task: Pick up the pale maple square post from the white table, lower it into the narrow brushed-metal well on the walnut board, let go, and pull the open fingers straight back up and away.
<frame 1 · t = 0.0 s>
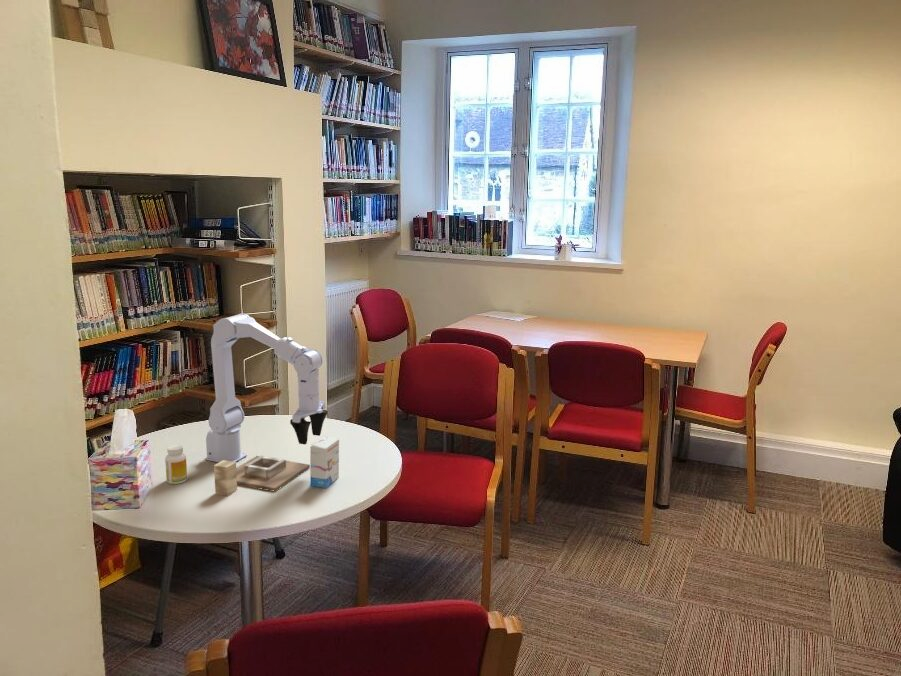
hand: (309, 439, 209), 10 cm above the table, tool pointing down, fingers open, 7 cm apart
supplement bottle: (177, 481, 204), on the table
maple post: (226, 491, 197), on the table
well stand: (265, 474, 209), on the table
ink box: (325, 482, 205), on the table
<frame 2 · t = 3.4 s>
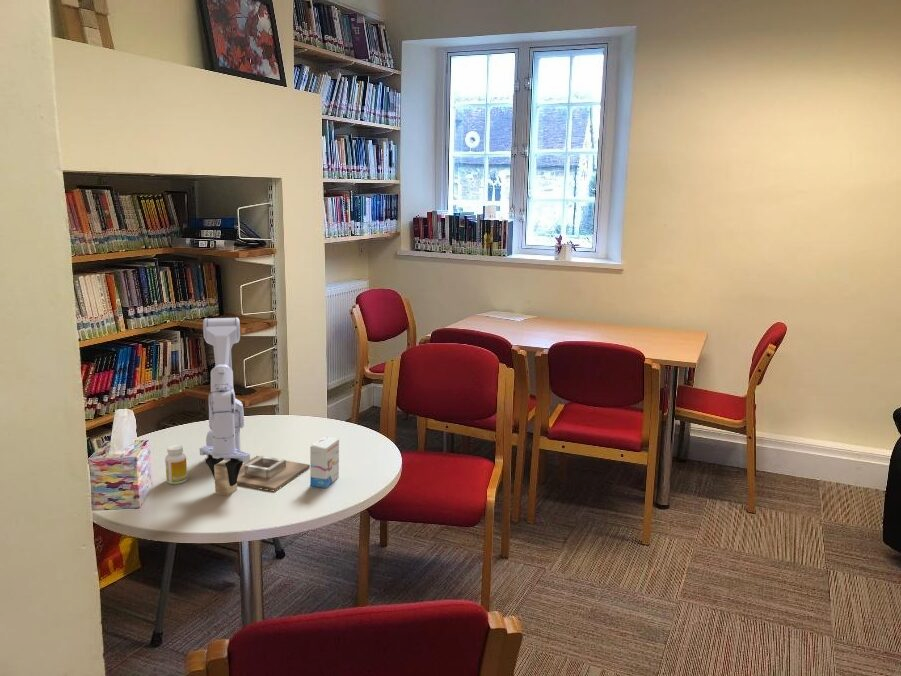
hand: (225, 483, 197), 2 cm above the table, tool pointing down, fingers closed on maple post, 4 cm apart
maple post: (226, 491, 197), on the table, touching gripper
everything else where it was.
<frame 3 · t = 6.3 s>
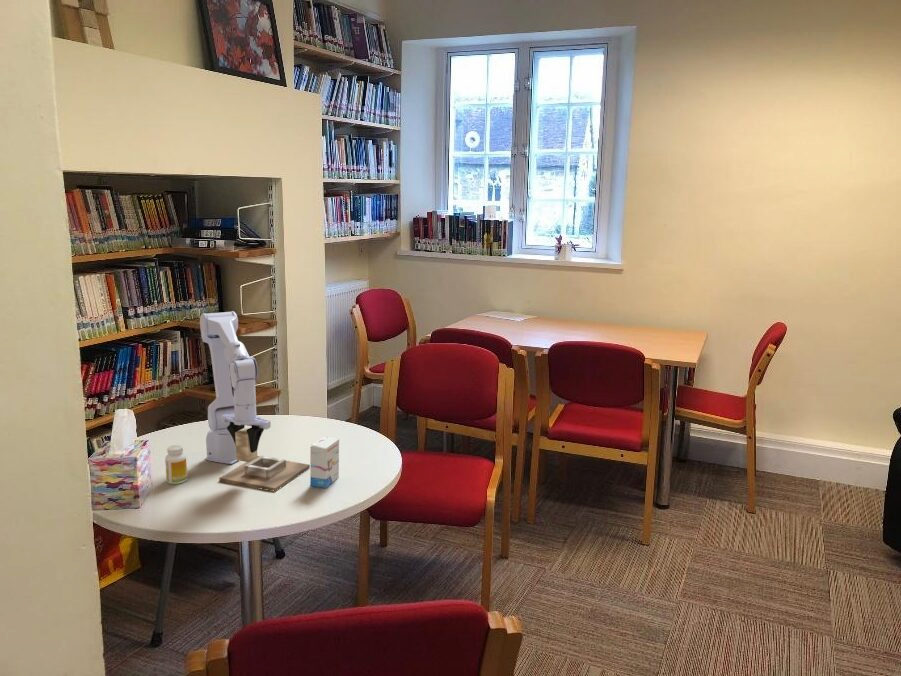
hand: (246, 450, 202), 9 cm above the table, tool pointing down, fingers closed on maple post, 4 cm apart
maple post: (247, 458, 202), point 7 cm above the table, touching gripper
everything else where it was.
when the fingers open (4 cm above the table, at t = 9.2 s): maple post stays where it is, resting on well stand.
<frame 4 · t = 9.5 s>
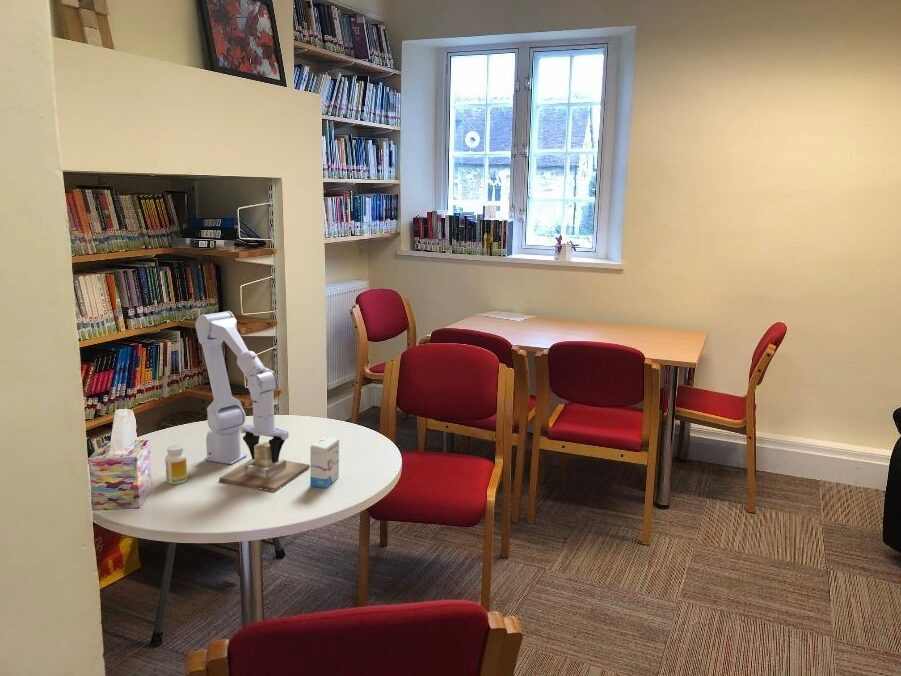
hand: (265, 459, 208), 4 cm above the table, tool pointing down, fingers open, 6 cm apart
maple post: (265, 471, 209), point 1 cm above the table, touching well stand
everything else where it was.
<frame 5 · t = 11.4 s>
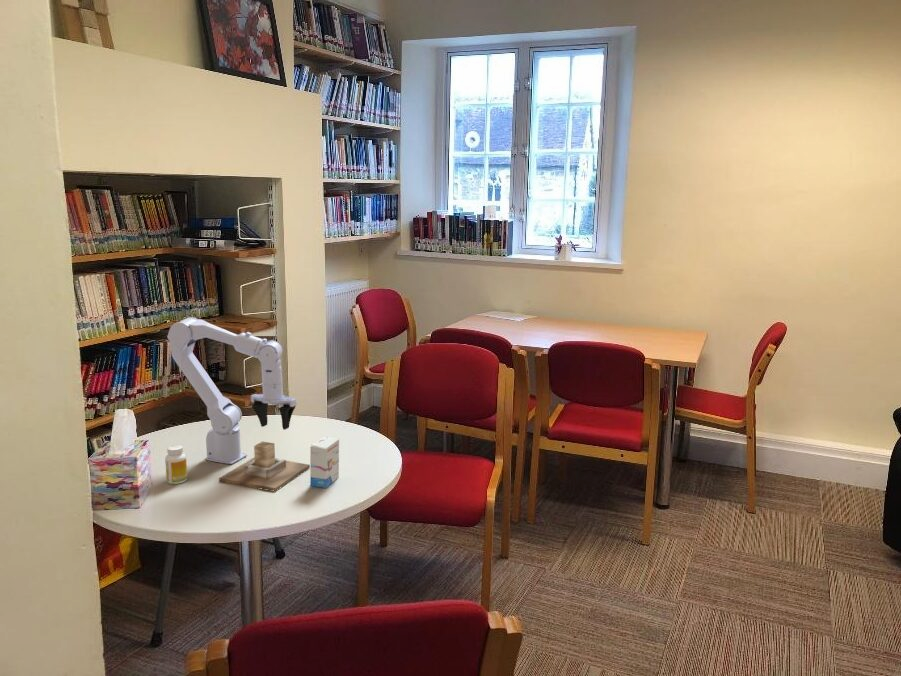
hand: (275, 427, 218), 10 cm above the table, tool pointing down, fingers open, 7 cm apart
nothing on the table moved.
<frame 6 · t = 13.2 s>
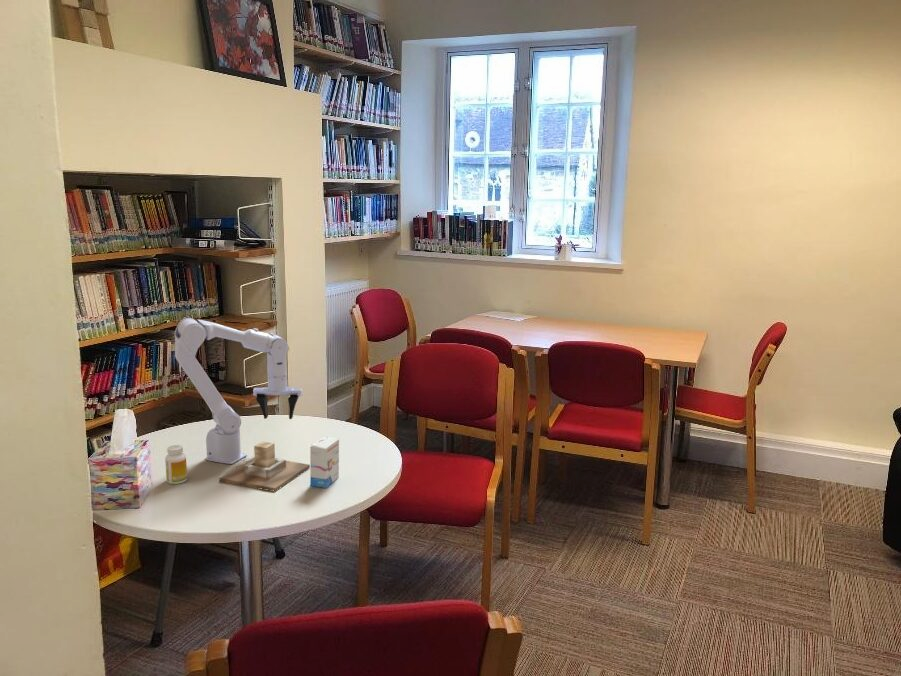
hand: (278, 417, 226), 10 cm above the table, tool pointing down, fingers open, 7 cm apart
nothing on the table moved.
at the end: maple post 0.2 cm off-centre on the well stand, point 1.0 cm above the well stand's base; maple post tilted 0°; the gripper is holding nothing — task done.
